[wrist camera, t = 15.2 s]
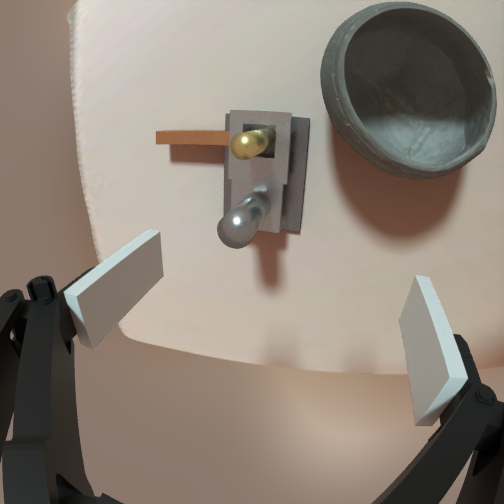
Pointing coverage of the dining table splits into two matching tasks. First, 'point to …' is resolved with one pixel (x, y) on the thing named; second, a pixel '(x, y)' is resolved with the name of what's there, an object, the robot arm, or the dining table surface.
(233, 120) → the grey lever block
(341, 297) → the dining table surface
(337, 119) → the bowl
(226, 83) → the dining table surface
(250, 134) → the gold rounded cylinder
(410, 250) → the dining table surface
